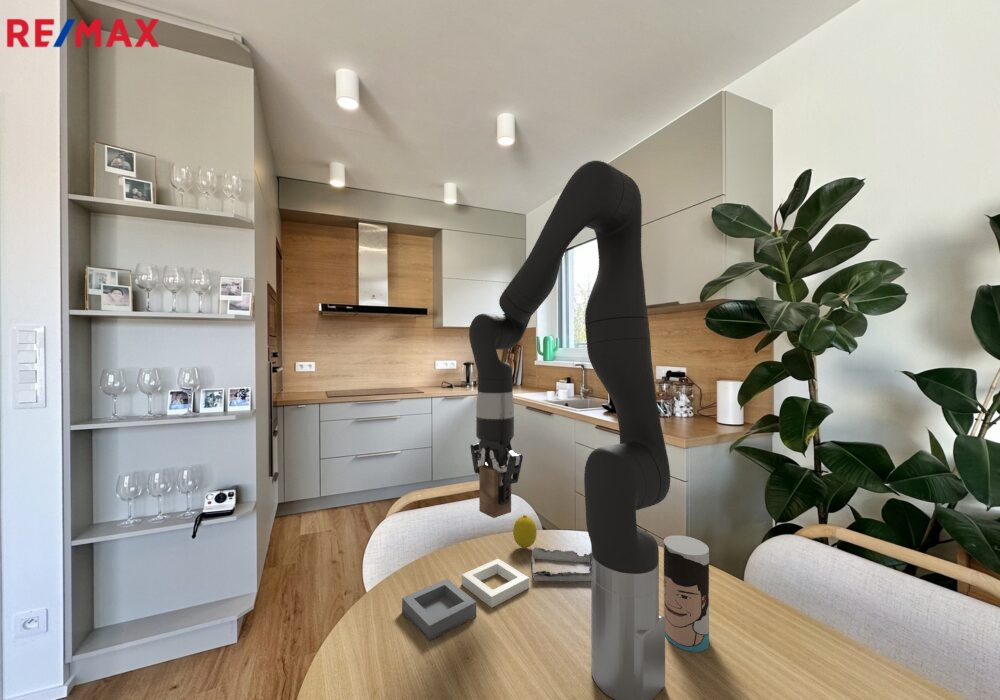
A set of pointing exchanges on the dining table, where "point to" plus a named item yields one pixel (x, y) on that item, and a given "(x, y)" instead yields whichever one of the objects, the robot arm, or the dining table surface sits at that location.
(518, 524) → the lemon
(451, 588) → the gray pocket tray
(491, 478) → the walnut block
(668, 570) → the cup
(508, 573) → the white pocket frame
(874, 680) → the dining table surface
